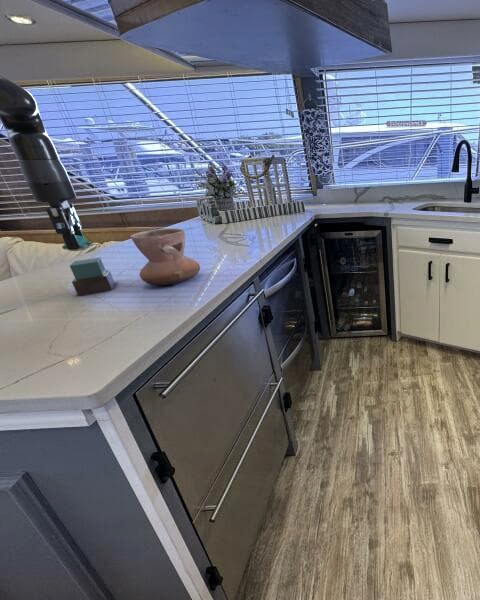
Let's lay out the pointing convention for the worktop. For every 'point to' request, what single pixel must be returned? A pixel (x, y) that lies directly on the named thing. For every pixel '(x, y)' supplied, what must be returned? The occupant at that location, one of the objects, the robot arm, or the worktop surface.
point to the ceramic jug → (165, 256)
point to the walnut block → (94, 284)
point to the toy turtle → (83, 244)
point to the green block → (87, 268)
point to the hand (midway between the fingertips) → (77, 246)
